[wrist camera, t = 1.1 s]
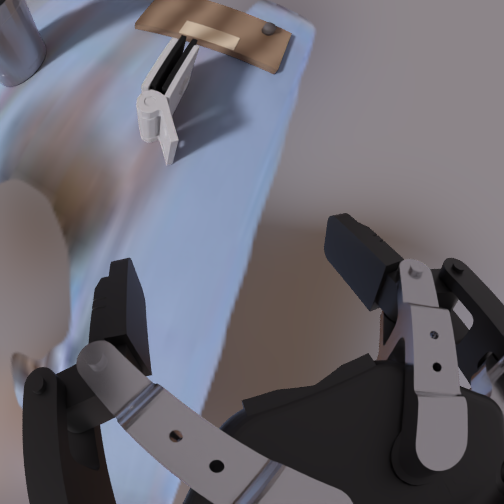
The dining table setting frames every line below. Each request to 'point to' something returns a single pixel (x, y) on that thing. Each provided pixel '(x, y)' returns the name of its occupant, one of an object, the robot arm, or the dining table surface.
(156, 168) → the dining table surface
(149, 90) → the hinge
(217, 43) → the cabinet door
